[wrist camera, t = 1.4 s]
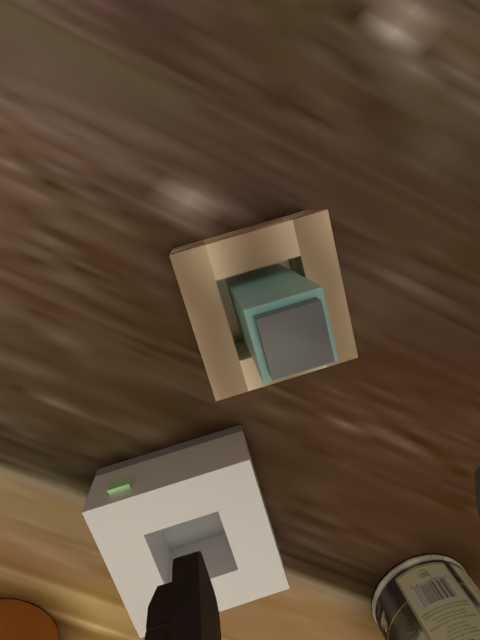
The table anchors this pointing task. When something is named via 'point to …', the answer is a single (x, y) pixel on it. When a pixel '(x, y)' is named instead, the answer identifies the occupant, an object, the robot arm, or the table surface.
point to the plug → (282, 321)
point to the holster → (245, 256)
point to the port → (186, 522)
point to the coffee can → (427, 601)
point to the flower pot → (25, 622)
